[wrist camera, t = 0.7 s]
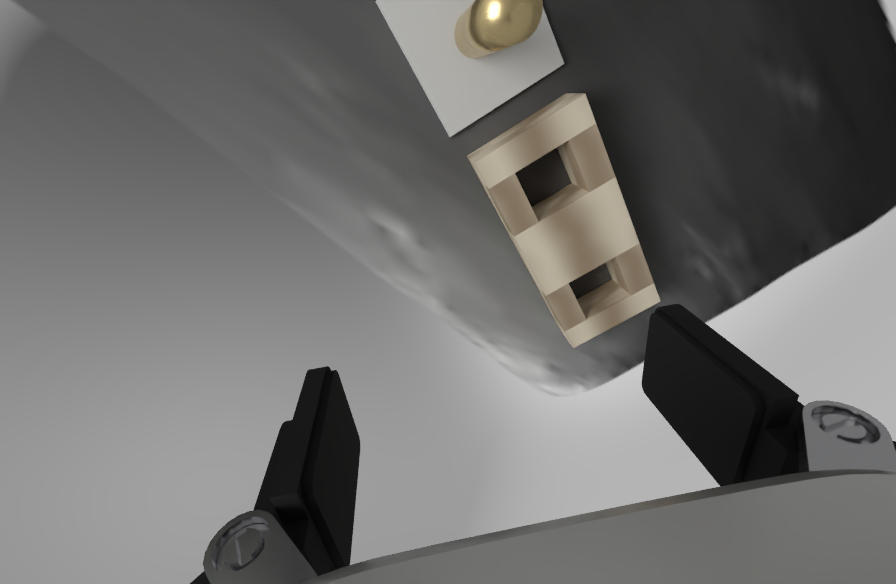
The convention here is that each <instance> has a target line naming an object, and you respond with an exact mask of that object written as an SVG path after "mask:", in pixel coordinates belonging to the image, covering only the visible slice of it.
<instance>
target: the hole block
mask: <svg viewBox="0 0 896 584" xmlns="http://www.w3.org/2000/svg"><path fill="white" fill-rule="evenodd" d="M555 148H557V149H558V152H559V154H560V157H561V159H562V161H563V164H564V166H565V168H566V171H567V173H568V176H569V178H570V180H571V184H570V185H568V186H566V187H564V188H563V189H561V190H559V191H558V192H556V193H554V194H553V195H551V196H549V197H548V198H546V199H544V200H543V201H541V202H539V203H538V204H536V205H534V206H533V207H531V205H530V203H529V201H528V199H527V197H526V195H525V193H524V191H523V189H522V187H521V185H520V183H519V181H518V178H517V176H516V174H515V173H516V172H517V171H519V170H521V169H522V168H524V167H526V166H527V165H529V164H531V163H532V162H534V161H535V160H537V159H539V158H540V157H542V156H544V155H545V154H547V153H548V152H550V151H552V150H553V149H555ZM467 157H468V159H469V161H470V163H471V164H472V166H473V168H474V170H475V172H476V174H477V176H478V177H479V179H480V181H481V183H482V185H483V187H484V189H485V191H486V192H487V194H488V196H489V198H490V200H491V202H492V204H493V205H494V207H495V209H496V211H497V213H498V215H499V217H500V218H501V220H502V222H503V224H504V226H505V228H506V230H507V231H508V233H509V235H510V237H511V239H512V241H513V243H514V245H515V246H516V248H517V250H518V252H519V254H520V256H521V258H522V259H523V261H524V263H525V265H526V267H527V269H528V271H529V272H530V274H531V276H532V278H533V280H534V282H535V284H536V285H537V287H538V289H539V291H540V293H541V295H542V297H543V299H544V300H545V302H546V304H547V306H548V308H549V310H550V312H551V313H552V315H553V317H554V319H555V321H556V323H557V325H558V326H559V328H560V330H561V331H562V333H563V334H564V335H565V337H566V338H567V340H568V341H569V343H570V344H571V345H572V347H573V348H575V347H577V346H578V345H580V344H582V343H584V342H586V341H588V340H590V339H591V338H593V337H595V336H597V335H599V334H601V333H603V332H604V331H606V330H608V329H610V328H612V327H614V326H616V325H617V324H619V323H621V322H623V321H625V320H627V319H629V318H631V317H632V316H634V315H636V314H638V313H640V312H642V311H644V310H645V309H647V308H649V307H651V306H653V305H655V304H657V303H658V302H660V298H659V296H658V293H657V290H656V287H655V285H654V282H653V279H652V276H651V274H650V271H649V268H648V265H647V263H646V260H645V257H644V254H643V251H642V249H641V246H640V243H639V240H638V238H637V235H636V232H635V229H634V227H633V224H632V221H631V218H630V216H629V213H628V210H627V207H626V205H625V202H624V199H623V196H622V193H621V191H620V188H619V185H618V182H617V180H616V177H615V174H614V171H613V169H612V166H611V163H610V160H609V158H608V155H607V152H606V149H605V147H604V144H603V141H602V138H601V135H600V133H599V130H598V127H597V124H596V122H595V119H594V116H593V113H592V111H591V108H590V105H589V102H588V100H587V97H586V94H578V93H566V94H564V95H563V96H561V97H559V98H558V99H556V100H555V101H553V102H552V103H550V104H548V105H547V106H545V107H544V108H542V109H540V110H539V111H537V112H536V113H534V114H533V115H531V116H529V117H528V118H526V119H525V120H523V121H521V122H520V123H518V124H517V125H515V126H513V127H512V128H510V129H509V130H507V131H506V132H504V133H502V134H501V135H499V136H498V137H496V138H494V139H493V140H491V141H490V142H488V143H487V144H485V145H483V146H482V147H480V148H479V149H477V150H475V151H474V152H472V153H471V154H469V155H468V156H467ZM604 263H606V266H607V268H608V270H609V273H610V275H611V278H612V280H610V281H609V282H607V283H605V284H603V285H601V286H600V287H598V288H596V289H594V290H592V291H591V292H589V293H587V294H585V295H583V296H582V297H580V298H578V299H576V297H575V295H574V293H573V291H572V289H571V287H570V285H569V283H570V282H572V281H573V280H575V279H577V278H579V277H581V276H582V275H584V274H586V273H588V272H589V271H591V270H593V269H595V268H597V267H598V266H600V265H602V264H604Z"/></svg>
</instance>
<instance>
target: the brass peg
mask: <svg viewBox="0 0 896 584" xmlns="http://www.w3.org/2000/svg"><path fill="white" fill-rule="evenodd" d="M542 11H543V0H475V1H474V2H473V3H472V4H471V5H470V6H469V7H468V9H467V10H466V11H465V12H464V13H463V14H462V15H461V16H460V17H459V19H458V21H457V23H456V26H455V30H454V38H455V42H456V45H457V47H458V49H459V50H460V52H461V53H462V54H463V55H465V56H467V57H469V58H474V59H476V58H481V57H483V56H486V55H489V54H492V53H494V52H497V51H500V50H502V49H505V48H508V47H511V46H513V45H516V44H519V43H521V42H523V41H525V40H527V39H528V38H529V37H530V36H531V35H532V34H533V33H534V32H535V30H536V29H537V27H538V25H539V23H540V20H541V16H542Z"/></svg>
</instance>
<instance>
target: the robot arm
mask: <svg viewBox="0 0 896 584" xmlns="http://www.w3.org/2000/svg"><path fill="white" fill-rule="evenodd" d="M642 388H643V391H644V393H645V394H646V396H647V397H648V398H649V399H650V401H651V402H652V403H653V404H654V405H655V407H656V408H657V409H658V410H659V412H660V413H661V414H662V415H663V416H664V418H665V419H666V420H667V421H668V423H669V424H670V425H671V426H672V428H673V429H674V430H675V431H676V432H677V434H678V435H679V436H680V437H681V439H682V440H683V441H684V442H685V443H686V445H687V446H688V447H689V448H690V450H691V451H692V452H693V453H694V454H695V456H696V457H697V458H698V459H699V461H700V462H701V463H702V464H703V466H704V467H705V468H706V469H707V470H708V472H709V473H710V474H711V475H712V476H713V478H714V479H715V480H716V481H717V483H718V484H719V485H720V486H721V487H716V488H712V489H706V490H701V491H696V492H692V493H686V494H681V495H676V496H670V497H665V498H660V499H655V500H651V501H645V502H640V503H635V504H630V505H625V506H620V507H616V508H610V509H605V510H601V511H596V512H591V513H586V514H581V515H576V516H571V517H566V518H561V519H556V520H551V521H547V522H541V523H537V524H532V525H527V526H522V527H517V528H513V529H508V530H503V531H498V532H493V533H488V534H484V535H479V536H475V537H470V538H465V539H460V540H455V541H450V542H445V543H441V544H436V545H431V546H427V547H423V548H419V549H414V550H410V551H405V552H401V553H396V554H392V555H387V556H383V557H379V558H375V559H371V560H367V561H364V562H360V563H356V564H353V565H349V564H350V556H351V545H352V534H353V523H354V511H355V501H356V489H357V479H358V468H359V456H360V439H359V435H358V432H357V429H356V426H355V423H354V420H353V417H352V413H351V411H350V408H349V404H348V401H347V399H346V395H345V392H344V390H343V386H342V383H341V380H340V377H339V374H338V372H337V371H336V370H334V371H331V369H330V368H329V367H328V366H327V367H322V368H317V369H311V370H308V371H307V373H306V377H305V380H304V383H303V387H302V390H301V393H300V397H299V400H298V403H297V407H296V410H295V413H294V417H293V420H291V421H286V422H284V423H283V424H282V426H281V428H280V431H279V434H278V437H277V440H276V443H275V446H274V449H273V452H272V456H271V458H270V461H269V465H268V468H267V471H266V474H265V477H264V480H263V483H262V486H261V489H260V492H259V495H258V498H257V501H256V504H255V507H254V510H253V511H249V512H246V513H244V514H241V515H239V516H237V517H236V518H234V519H232V520H231V521H229V522H228V523H227V524H226V525H225V526H223V527H222V528H221V529H220V530H219V531H218V532H217V534H216V535H215V536H214V538H213V539H212V540H211V542H210V544H209V546H208V548H207V550H206V552H205V556H204V562H203V565H204V570H205V571H204V572H203V573H201V574H200V575H199V576H198V577H197V578H196V579H195V580H194V581H193V582H191V583H190V584H896V442H895V441H892V438H891V436H890V434H889V432H888V431H887V429H886V427H885V426H884V425H882V423H880V422H879V421H878V420H877V419H875V418H874V417H872V416H871V415H869V414H868V413H866V412H864V411H861V410H859V409H857V408H855V407H853V406H849V405H846V404H843V403H839V402H833V401H815V402H811V403H808V404H807V405H806V406H804V405H802V404H801V403H800V402H798V401H797V400H798V397H799V395H798V394H796V393H795V392H794V391H793V390H791V389H790V388H789V387H787V386H786V385H785V384H784V383H782V382H781V381H780V380H778V379H777V378H775V377H774V376H773V375H772V374H770V373H769V372H768V371H767V370H765V369H764V368H763V367H761V366H760V365H759V364H757V363H756V362H755V361H753V360H752V359H751V358H750V357H748V356H747V355H746V354H744V353H743V352H742V351H740V350H739V349H738V348H736V347H735V346H734V345H733V344H731V343H730V342H729V341H727V340H726V339H725V338H723V337H722V336H721V335H719V334H718V333H717V332H716V331H714V330H713V329H712V328H710V327H709V326H708V325H706V324H705V323H704V322H702V321H701V320H700V319H699V318H697V317H696V316H695V315H693V314H692V313H691V312H689V311H688V310H687V309H686V308H684V307H683V306H681V305H680V304H673V305H668V306H662V307H658V308H657V309H656V310H655V313H652V314H651V316H650V322H649V330H648V338H647V345H646V353H645V361H644V369H643V376H642Z"/></svg>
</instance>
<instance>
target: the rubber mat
mask: <svg viewBox="0 0 896 584" xmlns="http://www.w3.org/2000/svg"><path fill="white" fill-rule="evenodd" d="M474 1H475V0H376V3H377V5H378V7H379V9H380V11H381V13H382V14H383V16H384V18H385V20H386V22H387V24H388V25H389V27H390V29H391V31H392V33H393V35H394V36H395V38H396V40H397V42H398V44H399V45H400V47H401V49H402V51H403V53H404V55H405V56H406V58H407V60H408V62H409V64H410V66H411V67H412V69H413V71H414V73H415V75H416V77H417V78H418V80H419V82H420V84H421V86H422V88H423V89H424V91H425V93H426V95H427V97H428V99H429V100H430V102H431V104H432V106H433V108H434V110H435V111H436V113H437V115H438V117H439V119H440V121H441V122H442V124H443V126H444V128H445V130H446V132H447V133H448V135H449V137H451V136H453V135H454V134H456V133H457V132H459V131H460V130H462V129H464V128H465V127H467V126H468V125H470V124H471V123H473V122H475V121H476V120H478V119H479V118H481V117H482V116H484V115H485V114H487V113H489V112H490V111H492V110H493V109H495V108H496V107H498V106H499V105H501V104H503V103H504V102H506V101H507V100H509V99H510V98H512V97H513V96H515V95H517V94H518V93H520V92H521V91H523V90H524V89H526V88H527V87H529V86H531V85H532V84H534V83H535V82H537V81H538V80H540V79H542V78H543V77H545V76H546V75H548V74H549V73H551V72H552V71H554V70H556V69H557V68H559V67H560V66H562V65H563V64H564V62H563V59H562V56H561V54H560V51H559V48H558V46H557V43H556V40H555V38H554V35H553V32H552V30H551V27H550V24H549V22H548V19H547V16H546V14H545V11H544V8H543V11H542V16H541V20H540V23H539V25H538V27H537V29H536V30H535V32H534V33H533V34H532V35H531V36H530V37H529V38H528V39H527V40H525V41H523V42H521V43H519V44H516V45H513V46H511V47H508V48H505V49H502V50H500V51H497V52H494V53H492V54H489V55H486V56H483V57H481V58H476V59H474V58H469V57H467V56H465V55H463V54H462V53H461V52H460V50H459V49H458V47H457V45H456V42H455V38H454V30H455V26H456V23H457V21H458V19H459V17H460V16H461V15H462V14H463V13H464V12H465V11H466V10H467V9H468V7H469V6H470V5H471V4H472V3H473V2H474Z"/></svg>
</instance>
